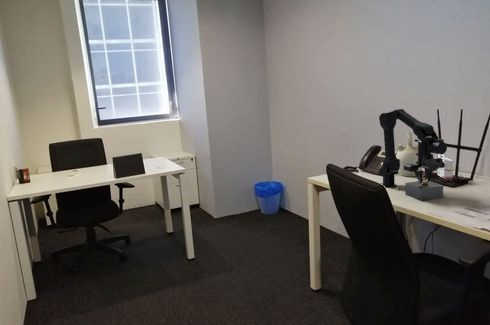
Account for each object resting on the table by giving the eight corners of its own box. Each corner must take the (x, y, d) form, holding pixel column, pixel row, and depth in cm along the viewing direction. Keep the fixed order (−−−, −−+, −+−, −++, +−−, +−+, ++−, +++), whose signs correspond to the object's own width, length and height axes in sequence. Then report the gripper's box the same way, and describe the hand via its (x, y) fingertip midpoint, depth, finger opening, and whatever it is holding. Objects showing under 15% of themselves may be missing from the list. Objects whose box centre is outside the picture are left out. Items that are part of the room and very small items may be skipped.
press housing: (405, 194, 196) (405, 182, 194) (426, 191, 198) (426, 179, 197) (420, 201, 184) (421, 188, 183) (443, 197, 186) (443, 185, 185)
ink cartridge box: (453, 181, 211) (454, 154, 209) (443, 182, 212) (444, 155, 209) (445, 177, 220) (446, 152, 217) (436, 178, 220) (437, 152, 217)
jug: (392, 176, 232) (392, 134, 227) (399, 170, 244) (399, 130, 239) (420, 178, 223) (421, 134, 218) (425, 172, 235) (426, 130, 230)
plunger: (409, 192, 194) (409, 177, 193) (425, 190, 196) (426, 175, 194) (421, 197, 186) (421, 181, 184) (438, 194, 187) (438, 179, 186)
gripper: (417, 156, 177) (417, 189, 180) (453, 152, 181) (452, 184, 184) (403, 152, 188) (402, 184, 191) (437, 148, 191) (436, 179, 195)
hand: (423, 183), depth 190 cm, fingers closed on plunger, 3 cm apart
